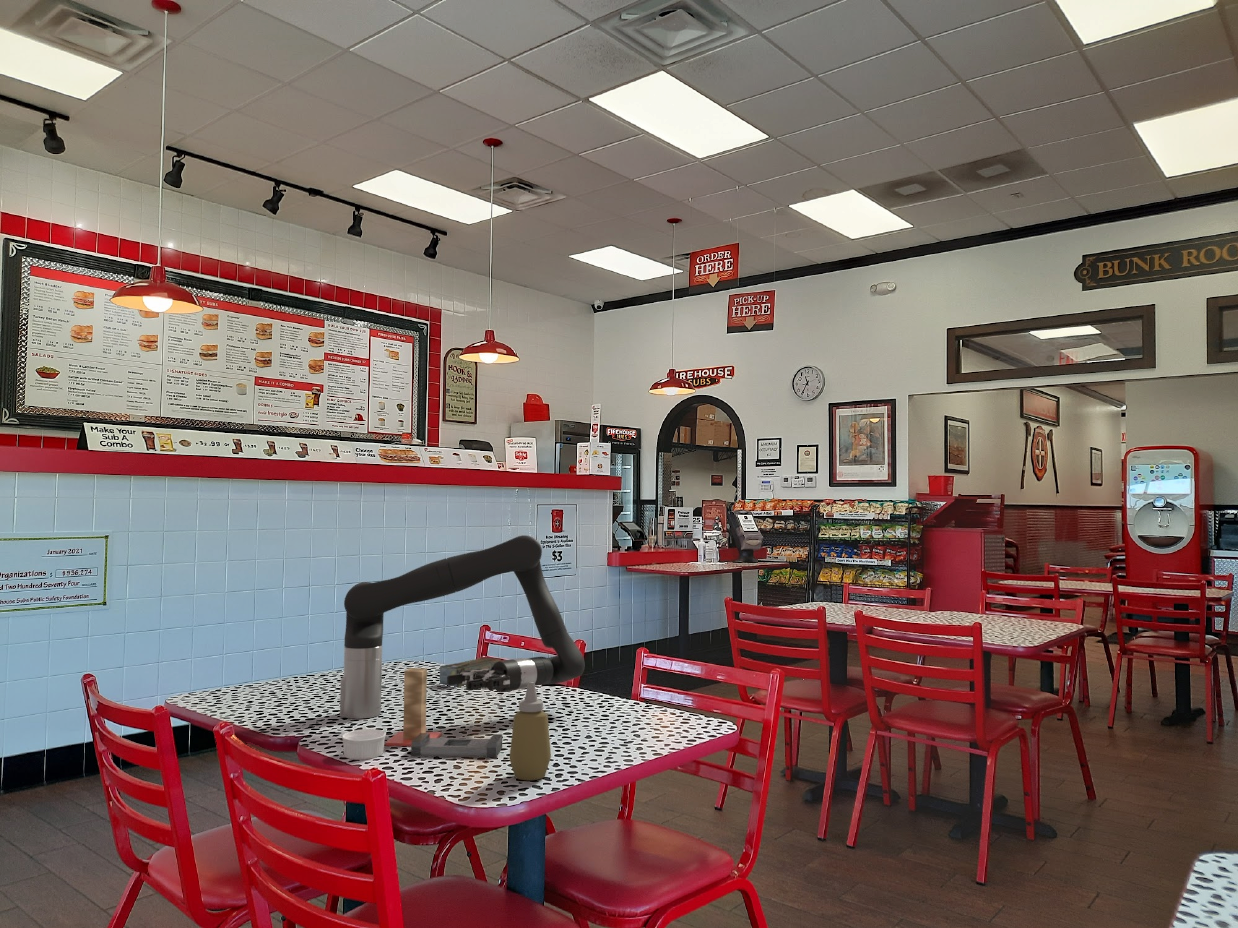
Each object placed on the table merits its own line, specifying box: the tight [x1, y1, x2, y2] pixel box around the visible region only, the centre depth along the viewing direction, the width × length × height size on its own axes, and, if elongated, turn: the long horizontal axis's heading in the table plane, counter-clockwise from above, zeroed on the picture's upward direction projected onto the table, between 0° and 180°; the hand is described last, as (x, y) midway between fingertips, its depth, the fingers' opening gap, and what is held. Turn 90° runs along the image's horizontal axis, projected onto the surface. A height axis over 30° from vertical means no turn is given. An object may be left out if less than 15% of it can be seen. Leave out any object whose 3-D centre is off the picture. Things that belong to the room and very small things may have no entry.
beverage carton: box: [439, 656, 502, 687], centre depth 258 cm, size 8×19×7 cm, turn 143°
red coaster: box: [384, 731, 443, 747], centre depth 191 cm, size 10×10×1 cm
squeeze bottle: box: [509, 682, 552, 781], centre depth 165 cm, size 8×8×18 cm
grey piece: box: [410, 733, 503, 758], centre depth 181 cm, size 18×7×3 cm, turn 87°
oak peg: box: [402, 667, 428, 740], centre depth 191 cm, size 4×4×15 cm
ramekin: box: [341, 728, 387, 761], centre depth 179 cm, size 9×9×4 cm
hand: (457, 683), depth 199 cm, fingers open, 8 cm apart
